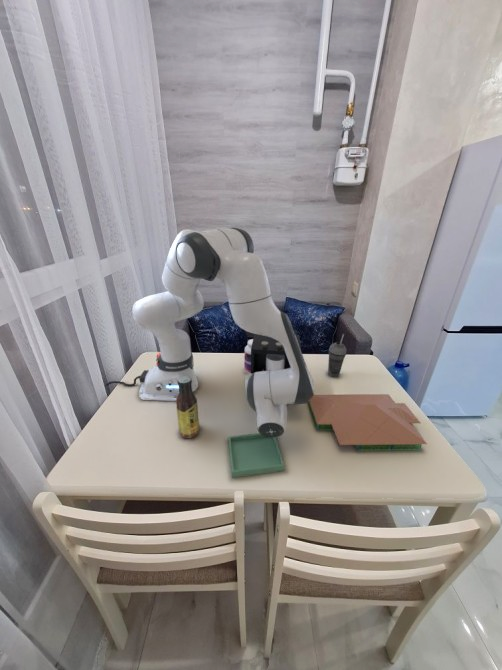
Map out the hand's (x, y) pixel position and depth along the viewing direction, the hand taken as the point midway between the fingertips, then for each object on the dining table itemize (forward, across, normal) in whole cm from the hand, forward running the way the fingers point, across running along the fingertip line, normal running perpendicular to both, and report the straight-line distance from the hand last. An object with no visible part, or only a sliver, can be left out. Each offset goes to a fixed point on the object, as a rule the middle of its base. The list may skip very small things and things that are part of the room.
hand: (274, 371), depth 97 cm
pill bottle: (+15, +9, +10) cm, 21 cm away
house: (-12, -30, +11) cm, 34 cm away
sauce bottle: (-22, +26, +11) cm, 36 cm away
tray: (-29, +4, +10) cm, 31 cm away
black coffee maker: (+3, 0, +10) cm, 11 cm away
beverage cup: (+17, -26, +10) cm, 32 cm away
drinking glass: (-1, 0, +8) cm, 8 cm away
